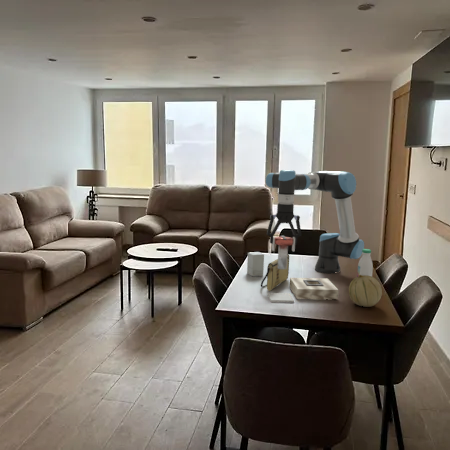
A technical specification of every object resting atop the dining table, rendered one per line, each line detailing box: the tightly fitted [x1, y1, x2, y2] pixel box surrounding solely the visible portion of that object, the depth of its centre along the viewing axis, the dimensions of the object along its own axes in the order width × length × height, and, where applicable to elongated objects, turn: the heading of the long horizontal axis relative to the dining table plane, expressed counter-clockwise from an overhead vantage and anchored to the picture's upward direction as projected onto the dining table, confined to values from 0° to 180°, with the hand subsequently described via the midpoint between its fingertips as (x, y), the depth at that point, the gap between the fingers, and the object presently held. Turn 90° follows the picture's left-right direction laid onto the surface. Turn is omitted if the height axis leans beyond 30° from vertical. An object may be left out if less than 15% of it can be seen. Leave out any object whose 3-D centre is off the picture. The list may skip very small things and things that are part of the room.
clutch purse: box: [260, 253, 290, 292], centre depth 231 cm, size 30×7×15 cm, turn 153°
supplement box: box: [246, 251, 265, 277], centre depth 250 cm, size 7×7×13 cm
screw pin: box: [274, 235, 293, 269], centre depth 205 cm, size 9×9×15 cm
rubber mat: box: [267, 292, 295, 304], centre depth 209 cm, size 11×11×1 cm
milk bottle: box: [356, 248, 374, 277], centre depth 235 cm, size 8×8×20 cm
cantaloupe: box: [348, 275, 383, 308], centre depth 201 cm, size 15×15×15 cm
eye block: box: [289, 277, 339, 301], centre depth 219 cm, size 20×20×6 cm
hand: (283, 250), depth 205 cm, fingers closed on screw pin, 9 cm apart
